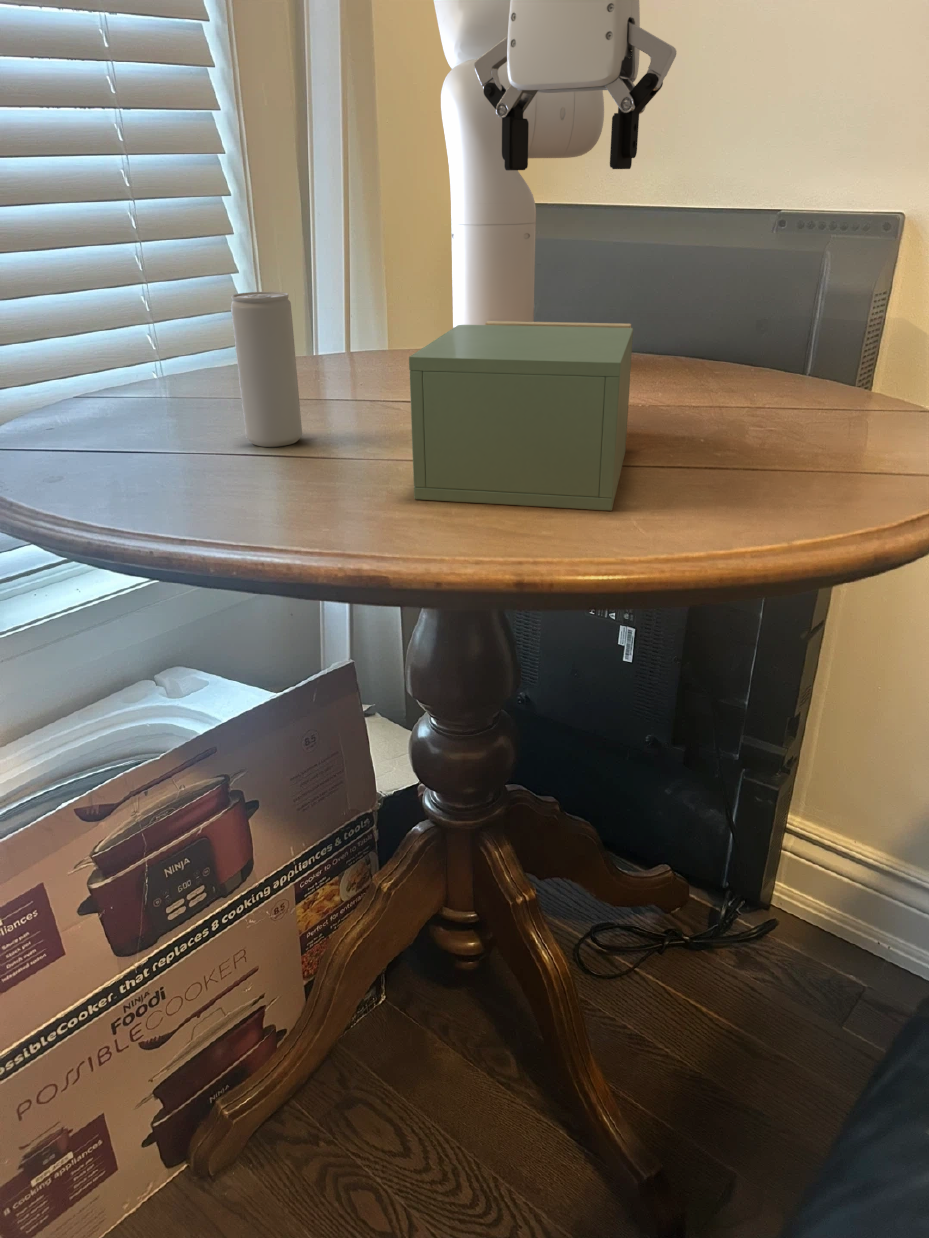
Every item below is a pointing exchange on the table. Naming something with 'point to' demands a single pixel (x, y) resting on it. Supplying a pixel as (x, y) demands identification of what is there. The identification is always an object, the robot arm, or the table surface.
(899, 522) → the table surface
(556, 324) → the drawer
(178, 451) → the table surface
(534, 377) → the cabinet
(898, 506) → the table surface
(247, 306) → the beverage can
